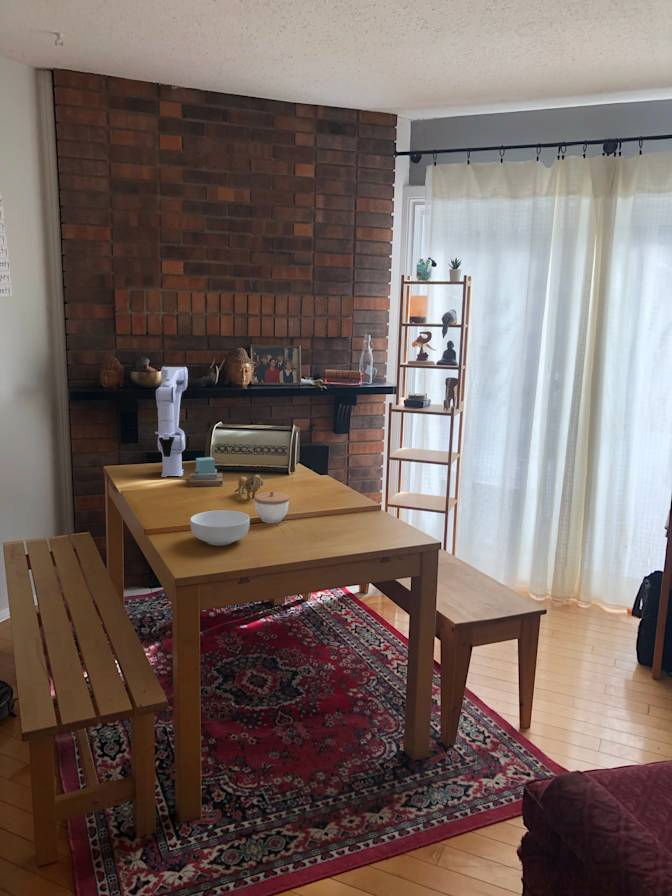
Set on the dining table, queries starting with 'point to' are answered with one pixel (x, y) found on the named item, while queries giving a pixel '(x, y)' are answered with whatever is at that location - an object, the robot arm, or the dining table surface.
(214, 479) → the tower base
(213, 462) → the teal brick
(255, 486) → the lion figurine
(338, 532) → the dining table surface
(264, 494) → the lidded jar
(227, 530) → the cereal bowl
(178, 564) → the dining table surface
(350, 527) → the dining table surface
